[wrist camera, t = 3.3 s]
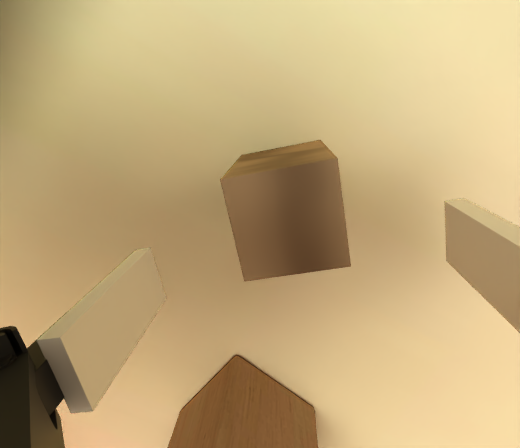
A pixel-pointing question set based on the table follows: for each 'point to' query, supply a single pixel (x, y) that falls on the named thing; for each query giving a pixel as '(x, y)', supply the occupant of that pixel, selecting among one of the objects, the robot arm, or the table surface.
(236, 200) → the walnut block
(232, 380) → the wooden block
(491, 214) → the robot arm
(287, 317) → the table surface
